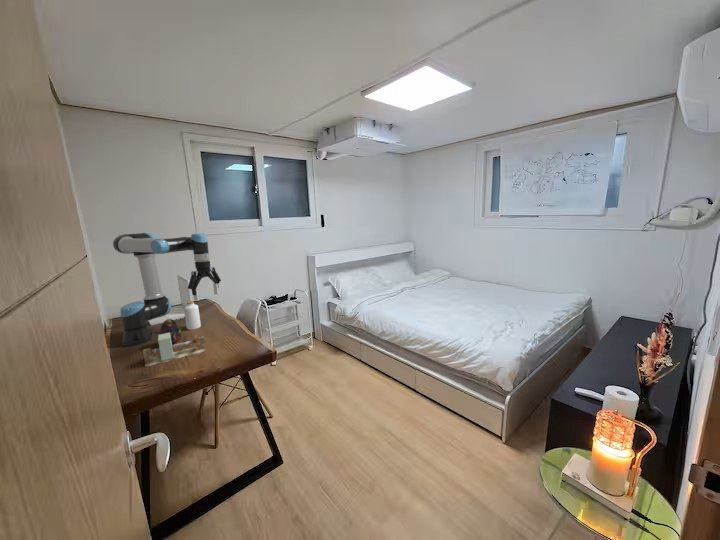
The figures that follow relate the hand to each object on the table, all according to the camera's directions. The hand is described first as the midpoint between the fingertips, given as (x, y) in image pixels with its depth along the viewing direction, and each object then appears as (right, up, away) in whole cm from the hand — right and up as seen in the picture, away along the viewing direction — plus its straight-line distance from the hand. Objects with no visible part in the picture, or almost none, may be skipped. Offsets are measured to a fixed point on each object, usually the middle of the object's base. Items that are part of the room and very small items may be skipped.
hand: (207, 297), depth 167 cm
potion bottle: (-22, -23, +26) cm, 41 cm away
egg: (-21, -28, +2) cm, 35 cm away
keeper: (-12, -30, -16) cm, 36 cm away
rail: (-9, -30, -14) cm, 34 cm away
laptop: (-59, -19, +56) cm, 83 cm away
